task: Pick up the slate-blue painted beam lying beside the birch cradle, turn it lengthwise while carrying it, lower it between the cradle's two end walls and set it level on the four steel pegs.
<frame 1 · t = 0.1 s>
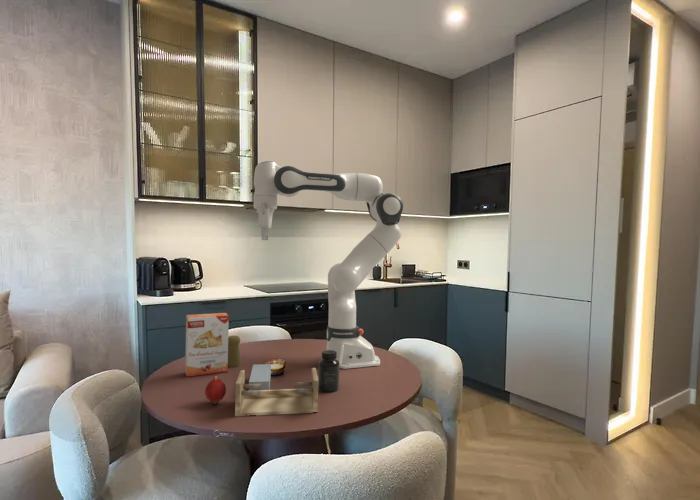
hand: (264, 240, 151), 48 cm above the table, tool pointing down, fingers open, 8 cm apart
cradle: (277, 406, 113), on the table
cork: (232, 365, 150), on the table
supplement bottle: (328, 389, 128), on the table
cracker box: (206, 373, 141), on the table
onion: (215, 403, 114), on the table
plank: (260, 387, 128), on the table
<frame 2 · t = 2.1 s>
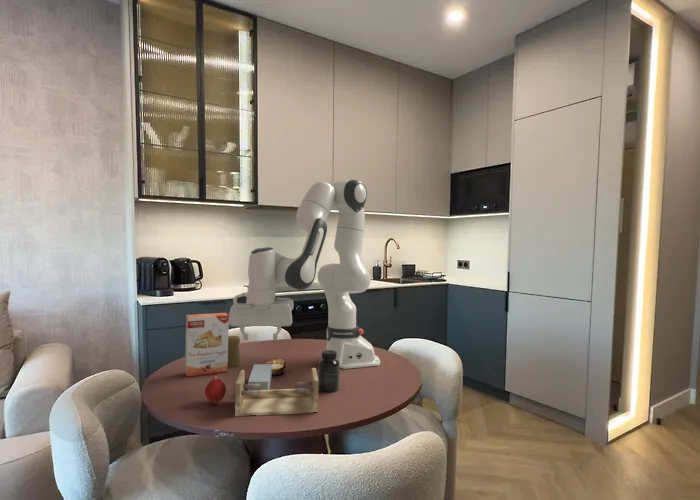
hand: (260, 339, 128), 15 cm above the table, tool pointing down, fingers open, 8 cm apart
nothing on the table moved.
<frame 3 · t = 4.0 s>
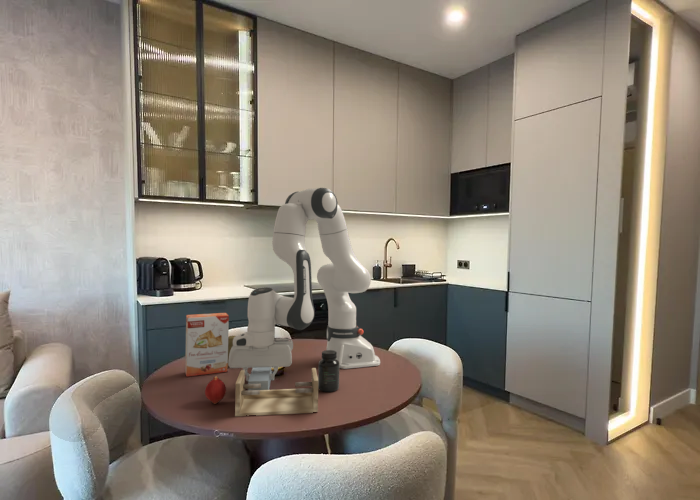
hand: (260, 380, 128), 2 cm above the table, tool pointing down, fingers closed on plank, 6 cm apart
plank: (260, 386, 128), on the table, touching gripper
everything else where it was.
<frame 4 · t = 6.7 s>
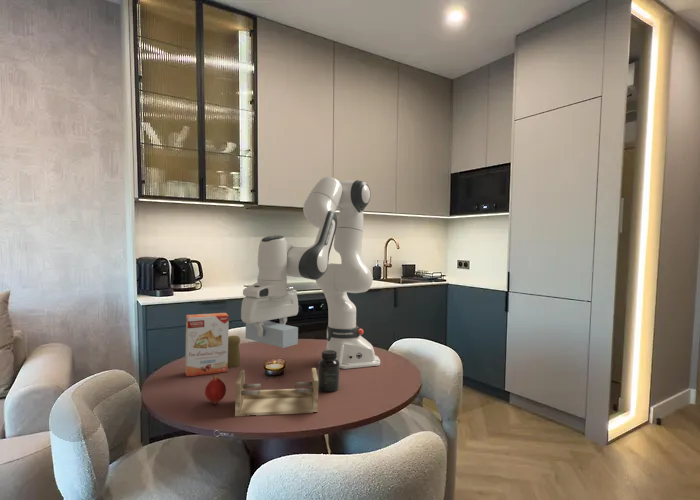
hand: (271, 333, 120), 19 cm above the table, tool pointing down, fingers closed on plank, 6 cm apart
plank: (271, 341, 120), point 17 cm above the table, touching gripper
everything else where it was.
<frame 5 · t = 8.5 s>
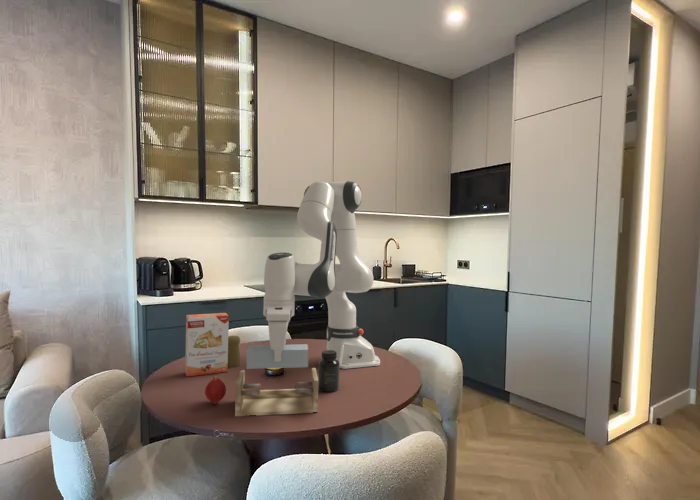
hand: (278, 357, 113), 14 cm above the table, tool pointing down, fingers closed on plank, 6 cm apart
plank: (278, 364, 113), point 12 cm above the table, touching gripper
everything else where it was.
when the fingers open (9 cm above the table, at t = 9.8 s): plank drops 1 cm, resting on cradle.
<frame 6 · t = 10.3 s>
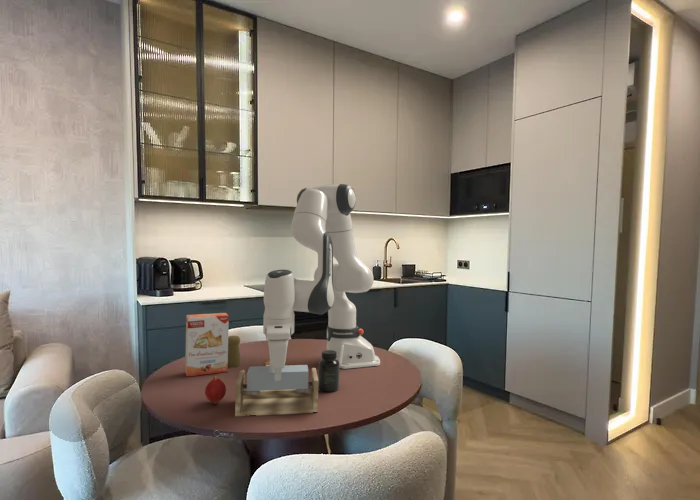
hand: (278, 374, 113), 9 cm above the table, tool pointing down, fingers open, 8 cm apart
plank: (278, 386, 113), point 6 cm above the table, touching cradle
everything else where it was.
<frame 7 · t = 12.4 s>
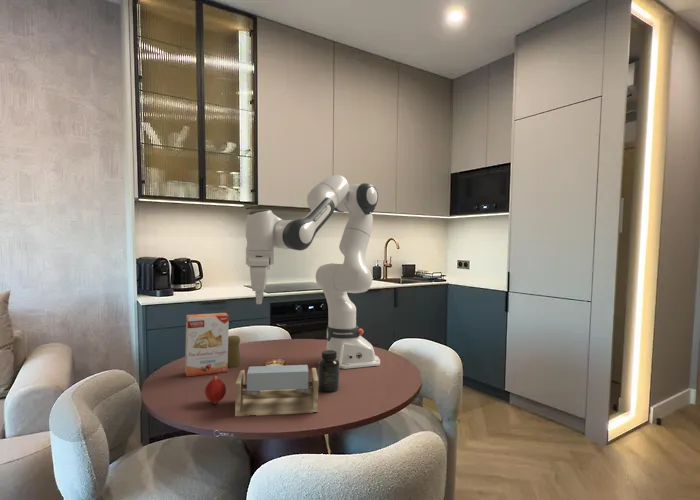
hand: (259, 301, 128), 28 cm above the table, tool pointing down, fingers open, 8 cm apart
nothing on the table moved.
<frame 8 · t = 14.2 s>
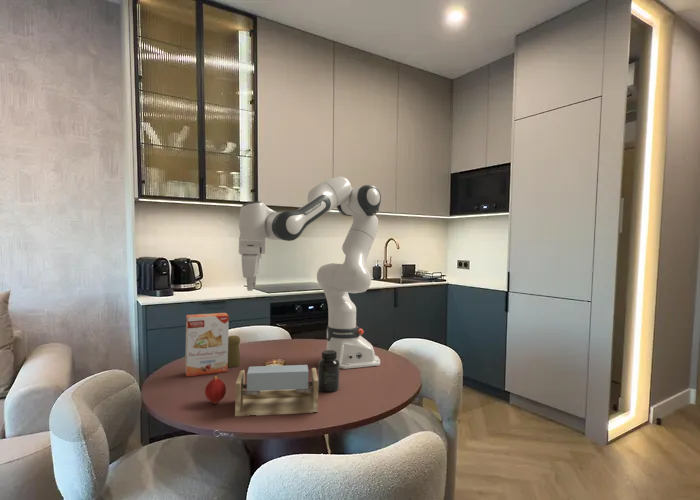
hand: (251, 288, 135), 31 cm above the table, tool pointing down, fingers open, 8 cm apart
nothing on the table moved.
at the end: plank 0.1 cm off-centre on the cradle, point 5.8 cm above the cradle's base; plank tilted 0°; the gripper is holding nothing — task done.
